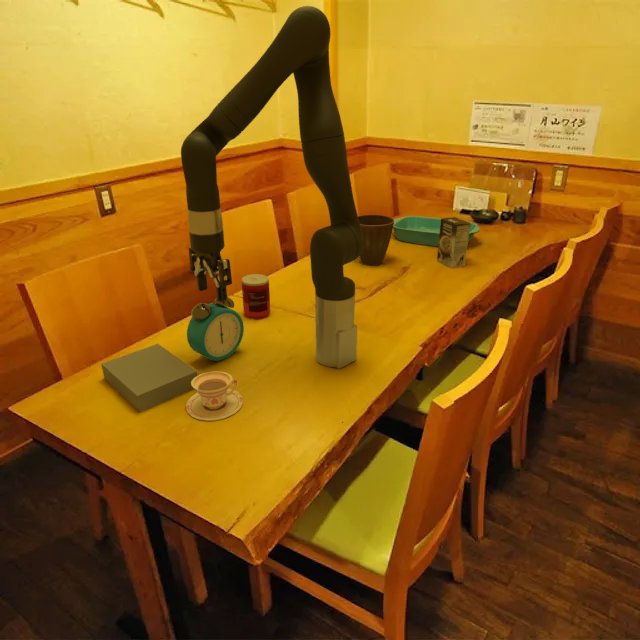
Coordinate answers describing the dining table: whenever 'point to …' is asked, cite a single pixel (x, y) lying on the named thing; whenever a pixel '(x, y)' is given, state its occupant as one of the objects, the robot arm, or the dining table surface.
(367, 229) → the plant pot
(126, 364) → the plinth
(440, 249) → the coffee box
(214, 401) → the teacup
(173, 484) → the dining table surface
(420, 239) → the casserole dish
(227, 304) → the alarm clock
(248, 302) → the canned food
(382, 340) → the dining table surface
